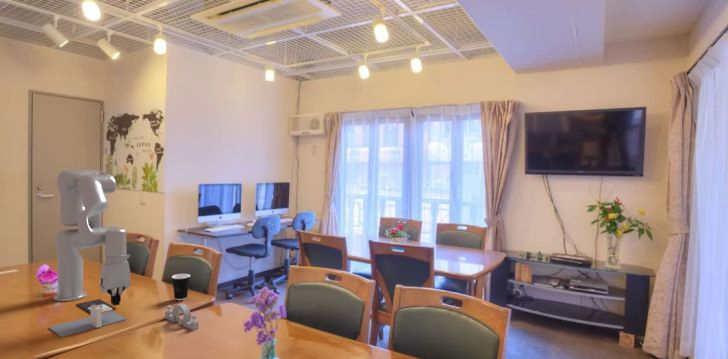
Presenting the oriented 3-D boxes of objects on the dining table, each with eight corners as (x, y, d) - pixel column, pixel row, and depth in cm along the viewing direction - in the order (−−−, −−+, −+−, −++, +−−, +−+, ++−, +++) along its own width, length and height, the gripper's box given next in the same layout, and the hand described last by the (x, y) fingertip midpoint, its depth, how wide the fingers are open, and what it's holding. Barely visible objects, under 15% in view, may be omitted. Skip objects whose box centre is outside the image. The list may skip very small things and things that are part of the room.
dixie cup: (171, 302, 184) (171, 278, 184) (171, 297, 192) (172, 274, 191) (190, 301, 187) (190, 277, 187) (190, 295, 195) (190, 273, 194)
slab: (90, 305, 157) (96, 309, 154) (95, 304, 159) (102, 308, 155) (90, 323, 157) (96, 327, 154) (95, 322, 159) (102, 326, 155)
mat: (48, 328, 153) (48, 327, 153) (112, 312, 171) (112, 311, 171) (61, 337, 146) (61, 336, 146) (126, 319, 163) (126, 318, 163)
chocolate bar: (99, 298, 185) (115, 308, 174) (99, 300, 185) (115, 310, 175) (76, 304, 178) (92, 313, 167) (76, 306, 178) (92, 316, 167)
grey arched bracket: (165, 319, 166) (165, 300, 166) (170, 317, 168) (170, 298, 168) (192, 331, 155) (193, 311, 155) (198, 329, 157) (198, 309, 156)
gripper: (130, 255, 172) (131, 298, 173) (90, 261, 160) (91, 307, 161) (139, 257, 168) (139, 301, 168) (98, 264, 156) (99, 311, 156)
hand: (115, 304), depth 164 cm, fingers closed
